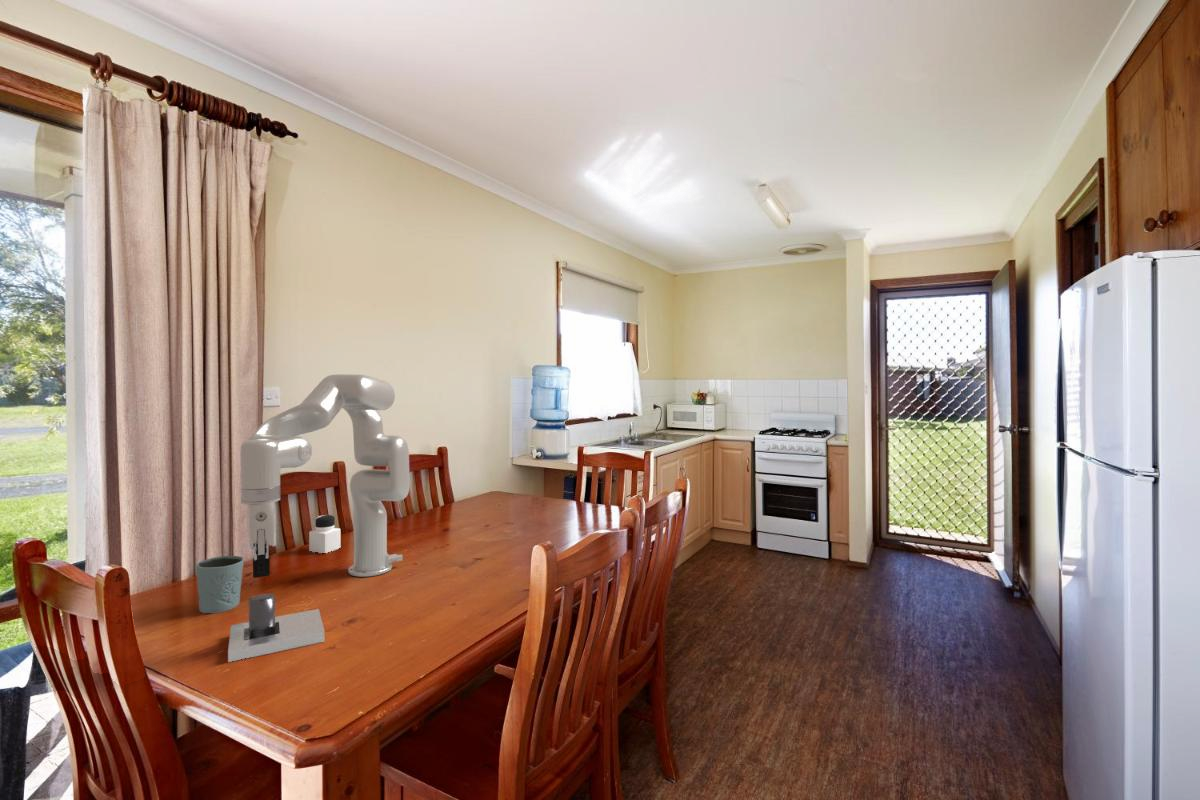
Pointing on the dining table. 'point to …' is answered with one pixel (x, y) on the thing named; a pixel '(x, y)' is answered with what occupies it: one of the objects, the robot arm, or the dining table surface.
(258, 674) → the dining table surface
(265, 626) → the dark grey peg block
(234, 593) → the teal embossed planter pot
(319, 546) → the medicine bottle
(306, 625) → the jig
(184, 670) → the dining table surface
